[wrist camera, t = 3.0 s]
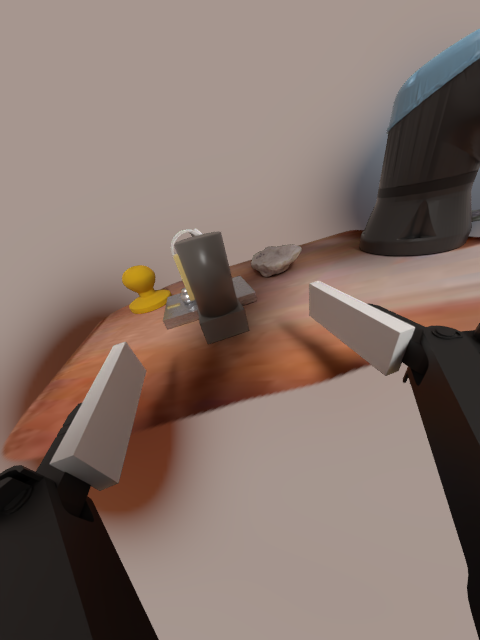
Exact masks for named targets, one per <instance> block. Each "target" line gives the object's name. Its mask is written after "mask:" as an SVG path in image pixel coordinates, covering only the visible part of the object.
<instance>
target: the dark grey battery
mask: <svg viewBox="0 0 480 640" xmlns="http://www.w3.org/2000/svg"><path fill="white" fill-rule="evenodd" d="M174 246H175V249H176V251H177V254H175V255H174V256H173V257H174V260H175V262H176V265H177V268H178V270H179V273H180V275H181V278H182V280H183V283H184V285H185V288H186V290H187V293H188V295H189V298H190V300H191V301H192V300H195V301H196V304H197V307H198V314H199V321H200V325H201V328H202V331H203V333H204V336H205V338H206V341H207V343H208V344H211V343H214V342H217V341H220V340H223V339H226V338H229V337H232V336H235V335H238V334H241V333H244V332H247V331H249V328H248V323H247V319H246V314H245V310H244V308H243V307H242V305H241V303H240V302H239V300H238V299H237V297H236V293H235V289H234V285H233V281H232V276H231V272H230V268H229V264H228V260H227V256H226V252H225V247H224V243H223V239H222V235H221V232H211V233H206V234H202V235H197V236H194V237H190V238H187V239H184V240H181V241H179V242H176V243H175V244H174Z"/></svg>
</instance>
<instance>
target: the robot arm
mask: <svg viewBox="0 0 480 640" xmlns="http://www.w3.org/2000/svg"><path fill="white" fill-rule="evenodd" d="M387 134H388V139H387V146H386V151H385V157H384V162H383V168H382V174H381V179H380V184H379V190H378V196H377V202H376V205H375V207H374V209H373V211H372V213H371V216H370V218H369V220H368V222H367V225H366V228H365V230H364V231H363V232H362V234H361V237H360V244H359V248H360V249H361V250H363V251H366V252H369V253H374V254H381V255H422V254H432V253H438V252H444V251H448V250H452V249H455V248H458V247H461V246H462V245H464V244H465V243H466V240H467V238H468V236H469V234H470V231H471V228H472V225H471V189H472V185H473V182H474V180H475V177H476V175H477V172H478V169H479V167H480V29H478V30H476V31H475V32H473V33H471V34H470V35H468V36H466V37H465V38H463V39H461V40H460V41H458V42H457V43H455V44H453V45H452V46H450V47H449V48H447V49H446V50H444V51H443V52H441V53H440V54H439V55H437V56H436V57H434V58H433V59H432V60H430V61H429V62H427V63H426V64H425V65H424V66H422V67H421V68H420V69H419V70H418V71H416V72H415V73H414V74H413V75H412V76H411V77H410V78H409V79H408V80H407V81H406V82H405V83H404V85H403V86H402V87H401V89H400V90H399V92H398V94H397V96H396V99H395V102H394V106H393V111H392V115H391V120H390V125H389V127H388V129H387ZM309 316H311V317H312V318H313V319H315V320H316V321H317V322H318V323H320V324H321V325H322V326H323V327H325V328H326V329H327V330H328V331H330V332H331V333H332V334H333V335H335V336H336V337H337V338H338V339H340V340H341V341H342V342H343V343H345V344H346V345H347V346H348V347H350V348H351V349H352V350H354V351H355V352H356V353H357V354H359V355H360V356H361V357H362V358H364V359H365V360H366V361H367V362H369V363H370V364H371V365H372V366H374V367H375V368H376V369H377V370H379V371H380V372H381V373H382V374H384V375H385V376H387V375H390V374H392V373H394V372H397V371H399V368H400V366H401V363H402V362H403V363H404V364H406V365H407V366H408V368H407V371H406V373H405V375H404V378H403V382H404V383H405V382H406V381H407V378H409V380H410V384H411V386H412V390H413V393H414V396H415V399H416V402H417V406H418V409H419V412H420V415H421V418H422V421H423V425H424V428H425V431H426V434H427V438H428V441H429V444H430V447H431V450H432V453H433V456H434V460H435V463H436V466H437V469H438V473H439V476H440V479H441V482H442V485H443V489H444V492H445V495H446V498H447V501H448V505H449V508H450V511H451V514H452V518H453V521H454V524H455V527H456V530H457V534H458V537H459V540H460V543H461V546H462V549H463V553H464V556H465V559H466V563H467V567H468V574H469V575H468V585H467V591H468V600H469V604H470V609H471V613H472V616H473V620H474V623H475V627H476V630H477V634H478V637H479V640H480V323H479V325H478V326H477V328H476V330H473V331H462V332H460V331H458V330H456V329H453V328H449V327H445V326H429V327H424V326H422V325H420V324H418V323H415V322H413V321H411V320H409V319H407V318H405V317H402V316H400V315H398V314H397V315H396V313H394V312H392V311H388V310H387V309H385V308H383V307H381V306H378V305H373V304H366V303H364V302H362V301H360V300H358V299H356V298H354V297H352V296H349V295H347V294H345V293H343V292H341V291H339V290H337V289H335V288H333V287H331V286H329V285H327V284H325V283H322V282H320V281H316V282H313V283H310V284H309ZM145 373H146V370H145V368H144V367H143V365H142V364H141V362H140V361H139V360H138V358H137V357H136V355H135V354H134V353H133V351H132V350H131V348H130V347H129V346H128V344H127V343H126V342H123V343H120V344H117V345H114V346H113V348H112V349H111V351H110V353H109V355H108V357H107V359H106V360H105V362H104V364H103V366H102V368H101V370H100V372H99V373H98V375H97V377H96V379H95V381H94V383H93V384H92V386H91V388H90V390H89V392H88V394H87V395H86V397H85V399H84V401H83V403H80V404H78V405H77V406H76V407H75V409H74V410H73V411H72V412H71V413H70V414H69V415H68V417H67V419H66V421H65V422H64V424H63V428H61V429H60V431H59V433H58V434H57V437H56V438H55V440H54V441H53V443H52V445H51V447H50V448H49V450H48V452H47V453H46V455H45V457H44V459H43V461H42V462H41V464H40V466H39V467H38V469H37V471H36V472H34V471H32V470H30V469H28V468H26V467H24V466H22V465H19V466H13V467H11V468H9V469H7V470H5V471H3V472H2V473H0V640H159V639H158V638H157V635H156V633H155V631H154V629H153V627H152V625H151V623H150V621H149V618H148V616H147V614H146V612H145V610H144V608H143V606H142V604H141V602H140V600H139V598H138V596H137V594H136V591H135V589H134V587H133V585H132V583H131V581H130V579H129V577H128V574H127V572H126V570H125V568H124V566H123V564H122V562H121V560H120V558H119V556H118V554H117V552H116V549H115V547H114V545H113V543H112V541H111V539H110V537H109V535H108V533H107V530H106V529H105V526H104V525H103V522H102V520H101V518H100V516H99V514H98V512H97V510H96V507H95V505H94V503H93V501H92V500H91V499H90V498H89V497H87V495H88V492H89V489H90V486H92V487H94V488H95V489H97V490H99V491H101V490H103V489H105V488H108V487H110V486H113V485H115V484H118V483H119V479H120V475H121V471H122V467H123V463H124V459H125V455H126V451H127V447H128V442H129V439H130V435H131V431H132V426H133V422H134V418H135V414H136V410H137V406H138V402H139V398H140V394H141V390H142V386H143V382H144V377H145Z"/></svg>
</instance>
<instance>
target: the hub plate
mask: <svg viewBox="0 0 480 640" xmlns="http://www.w3.org/2000/svg"><path fill="white" fill-rule="evenodd" d="M232 281H233V285H234V289H235V293H236V297H237V299H238V300H239V302H240V303H241V305H242V306H243V305H246V304H249V303H252V302H256V301H257V297H256V292H255V291H254V290H253V289H252V288H251V287H250V286H249V285H248V284H247V282H246V281H245V280H244V279H243V278H242V277H241V276H237V277H234V278H232ZM181 291H182V293H180V294H176V295H173V296H170V297H168V298H167V303H166V308H165V313H164V318H163V322H164V324H165V326H166V328H167V329H170V328H173V327H176V326H180V325H183V324H186V323H189V322H192V321H195V320H199V314H198V307H197V304H196V301H195V300H192V301H191V300H190V298H189V295H188V293H187V290H186V288H183V289H181Z"/></svg>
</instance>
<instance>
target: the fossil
mask: <svg viewBox="0 0 480 640" xmlns="http://www.w3.org/2000/svg"><path fill="white" fill-rule="evenodd" d="M301 250H302V249H301V247H300V246H296V245H293V244H292V245H283V246H278V247H273V246H271V247H267V248H265V249H264V250H263V251H260V252H258V253H256V254H255V255H254V256H253V259H252V262H251V265H252V268H253V269H255V270H257V271H259V272H260V273H261V275H263V276H264V277H269V276H271V275H273V274H279V273H281V272H284V271H285V270H287V268H288V267H289V264H290V263H292V262H293V261H295V259H296V258H297V257H298V255H299V254H300V252H301Z"/></svg>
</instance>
